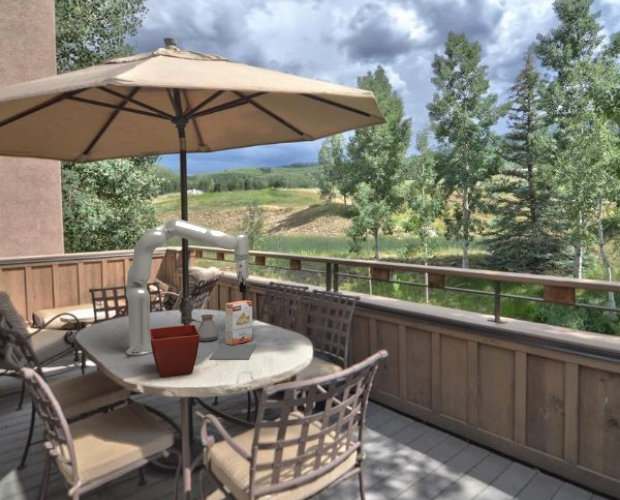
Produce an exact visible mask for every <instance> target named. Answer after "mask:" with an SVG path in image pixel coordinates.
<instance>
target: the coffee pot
mask: <svg viewBox="0 0 620 500" xmlns="http://www.w3.org/2000/svg"><path fill="white" fill-rule="evenodd" d="M200 317H201V320H198V319H194V318H191V317H187V316H181V317H180V318H179V321H182V320H183V319H184V320H187V321H191V322H195V323H199V324H200V325H199V328H198V329H197V330H198V332H199V334H200V339H199V342H202V343H203V342H204V343H209V342H213V341H216V339H217V338H218V337H219V331H218V329H217V327H216V325H215V321H214V320H213V317H214V315H213V314H202V315H200Z"/></svg>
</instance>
